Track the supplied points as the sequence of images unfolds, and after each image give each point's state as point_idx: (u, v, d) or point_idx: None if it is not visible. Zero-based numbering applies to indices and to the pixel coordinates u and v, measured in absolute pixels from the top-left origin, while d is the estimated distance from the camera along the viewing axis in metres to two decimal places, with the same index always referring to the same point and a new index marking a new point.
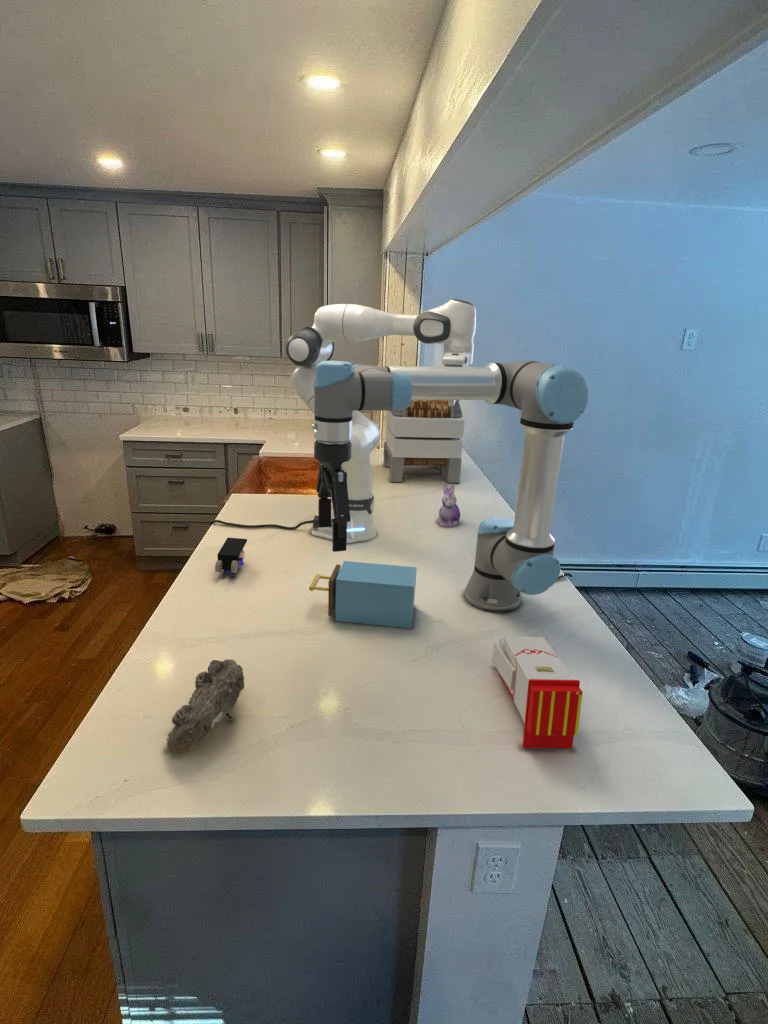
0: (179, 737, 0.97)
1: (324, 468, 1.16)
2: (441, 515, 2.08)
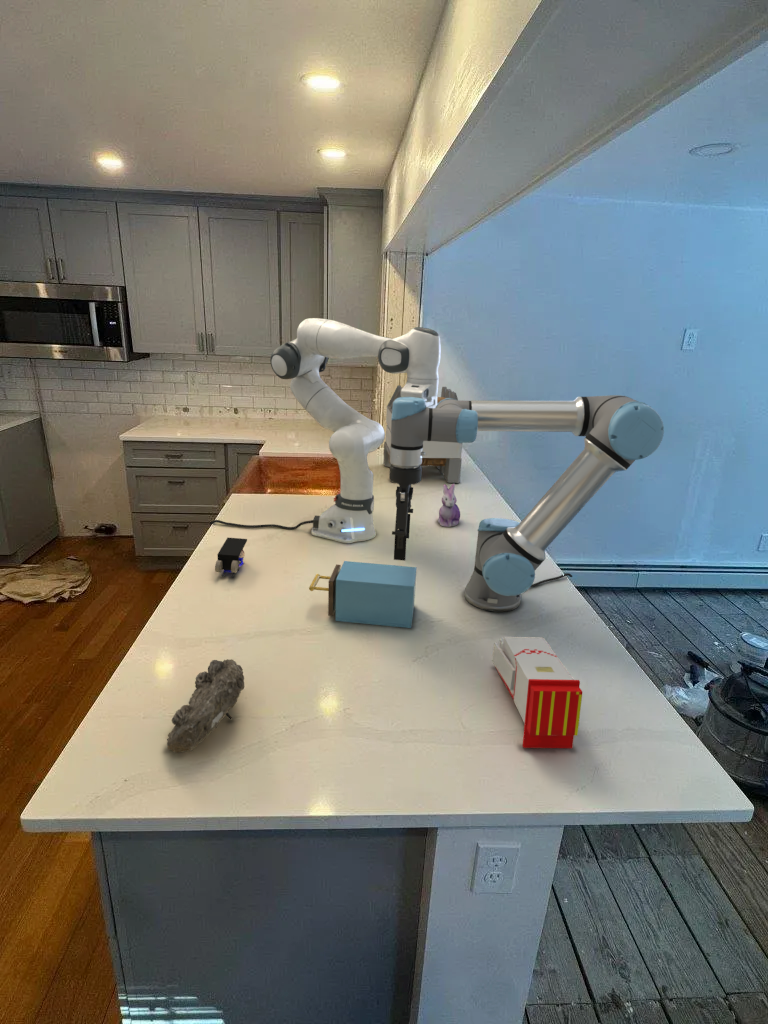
0: (179, 737, 0.97)
1: None
2: (441, 515, 2.08)
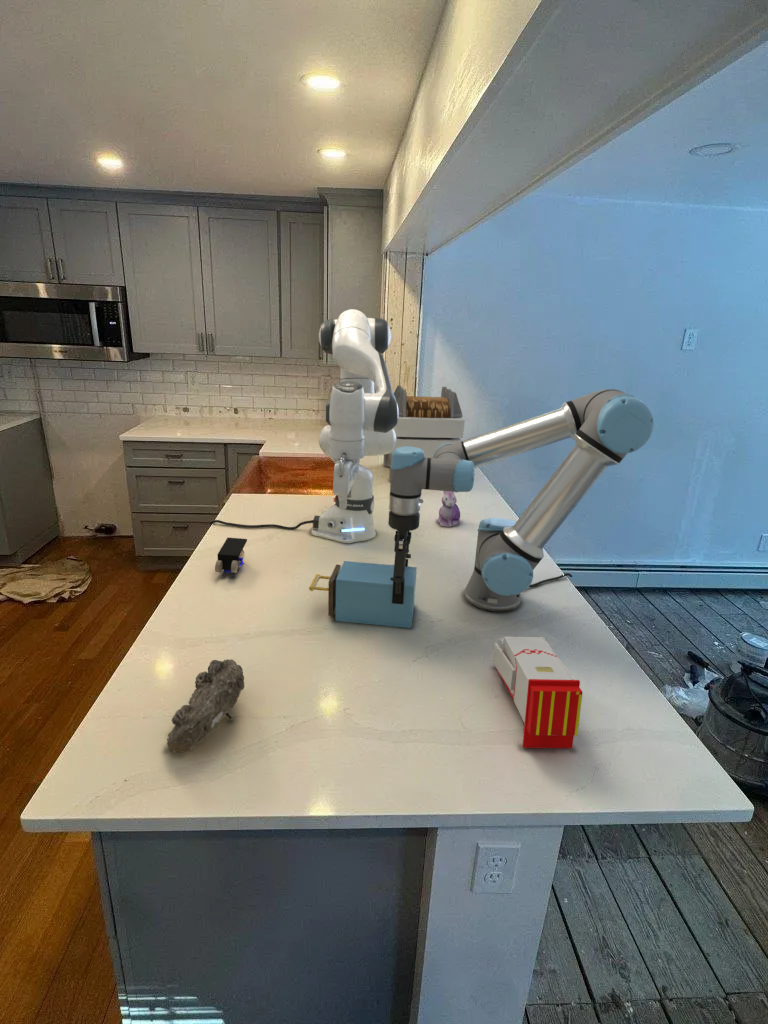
0: (179, 737, 0.97)
1: None
2: (441, 515, 2.08)
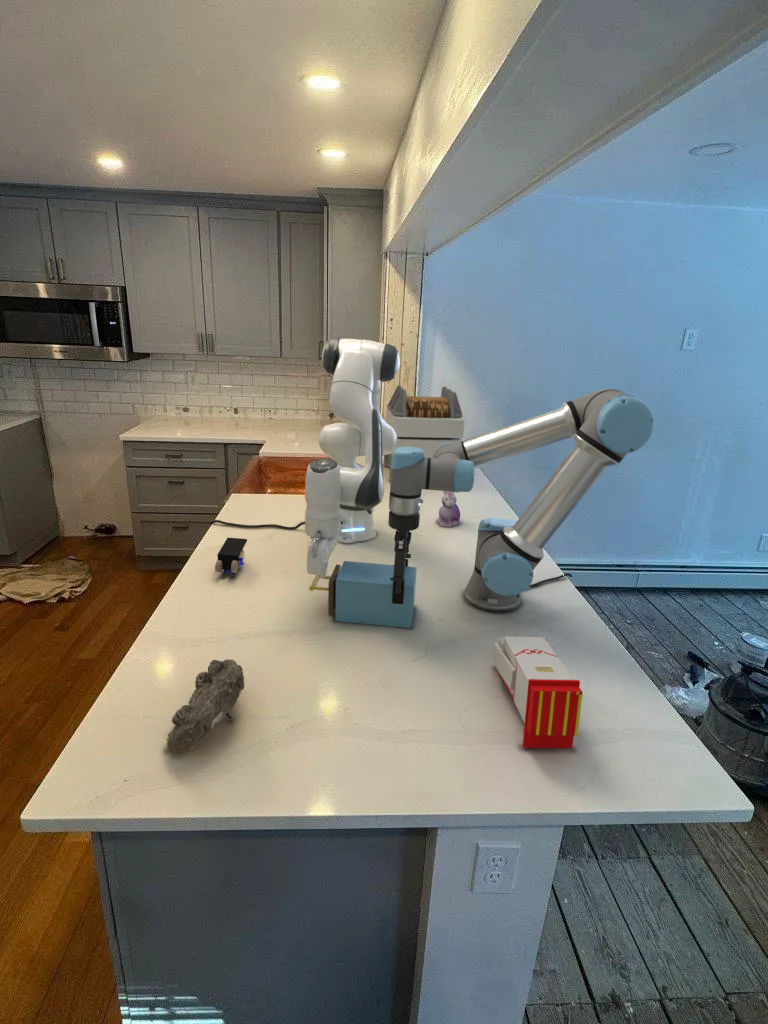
0: (179, 737, 0.97)
1: None
2: (441, 515, 2.08)
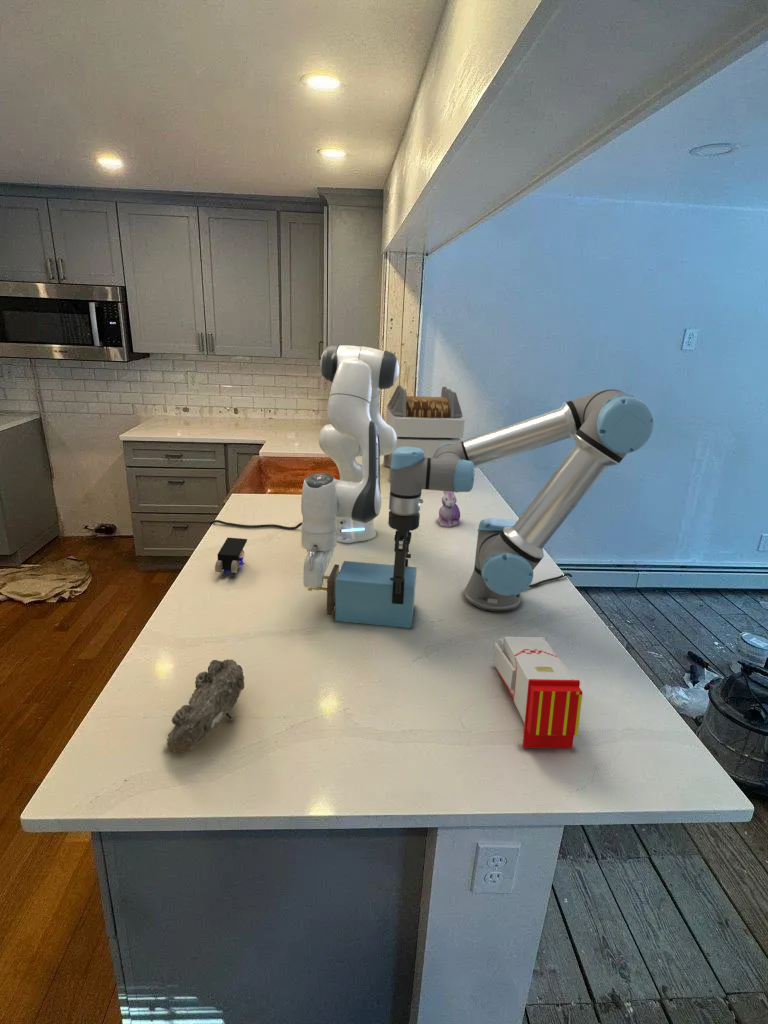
0: (179, 737, 0.97)
1: None
2: (441, 515, 2.08)
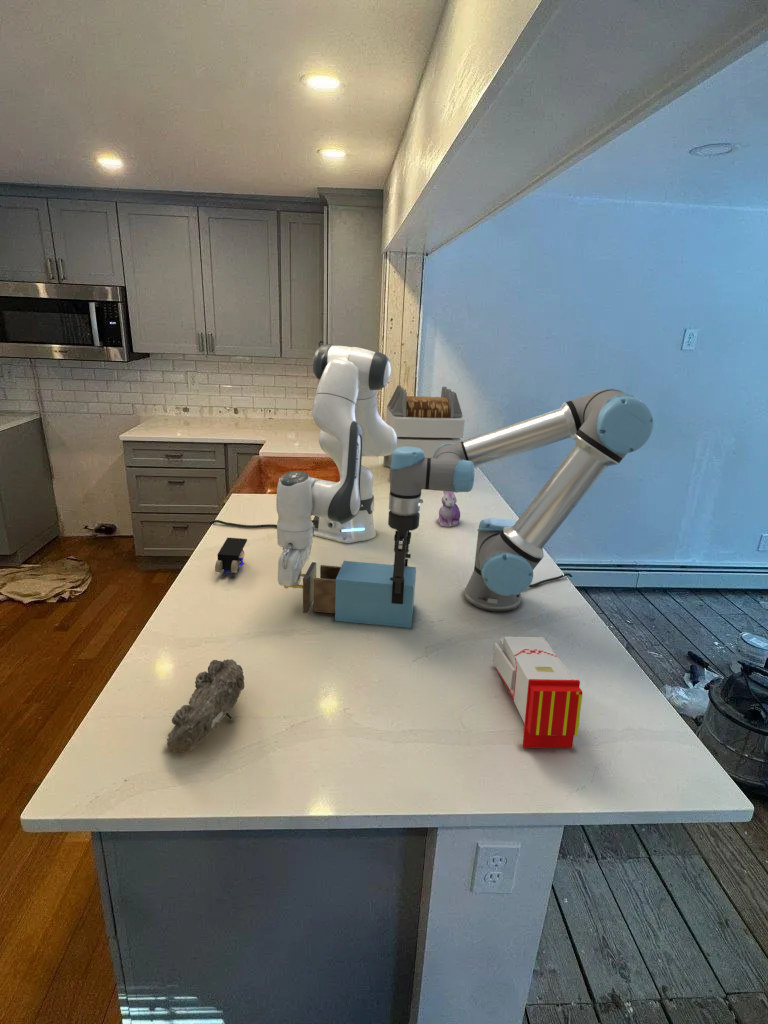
0: (179, 737, 0.97)
1: None
2: (441, 515, 2.08)
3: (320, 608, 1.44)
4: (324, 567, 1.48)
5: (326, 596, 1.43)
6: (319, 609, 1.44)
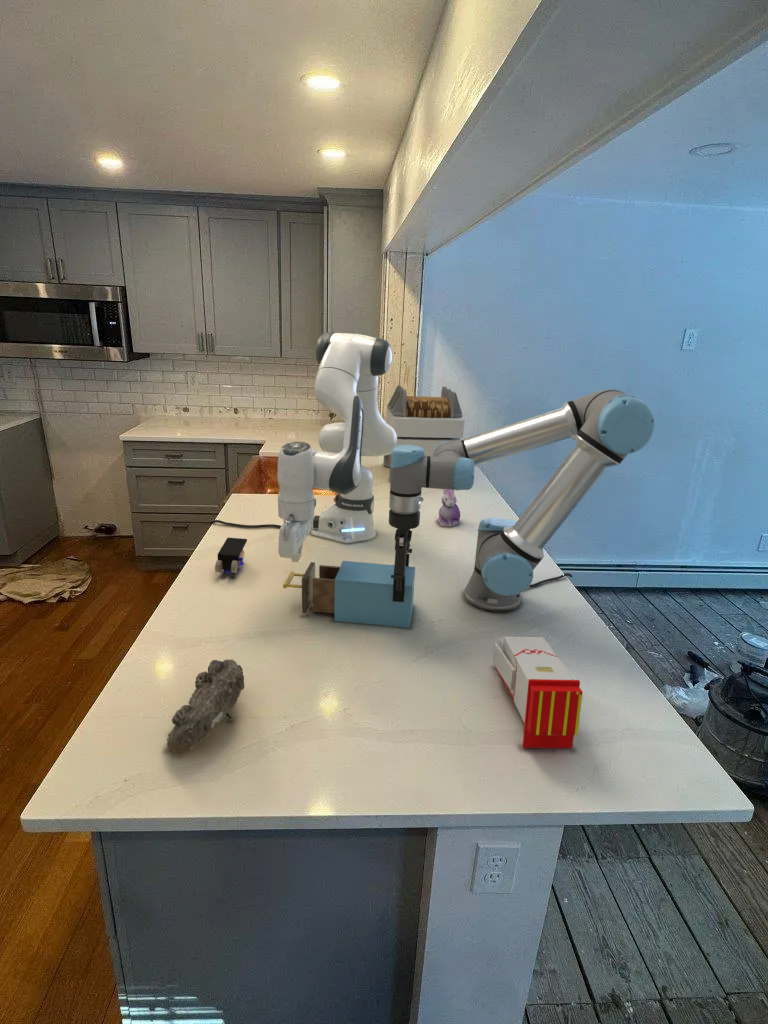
0: (179, 737, 0.97)
1: None
2: (441, 515, 2.08)
3: (319, 608, 1.44)
4: (323, 567, 1.48)
5: (325, 596, 1.43)
6: (318, 609, 1.44)
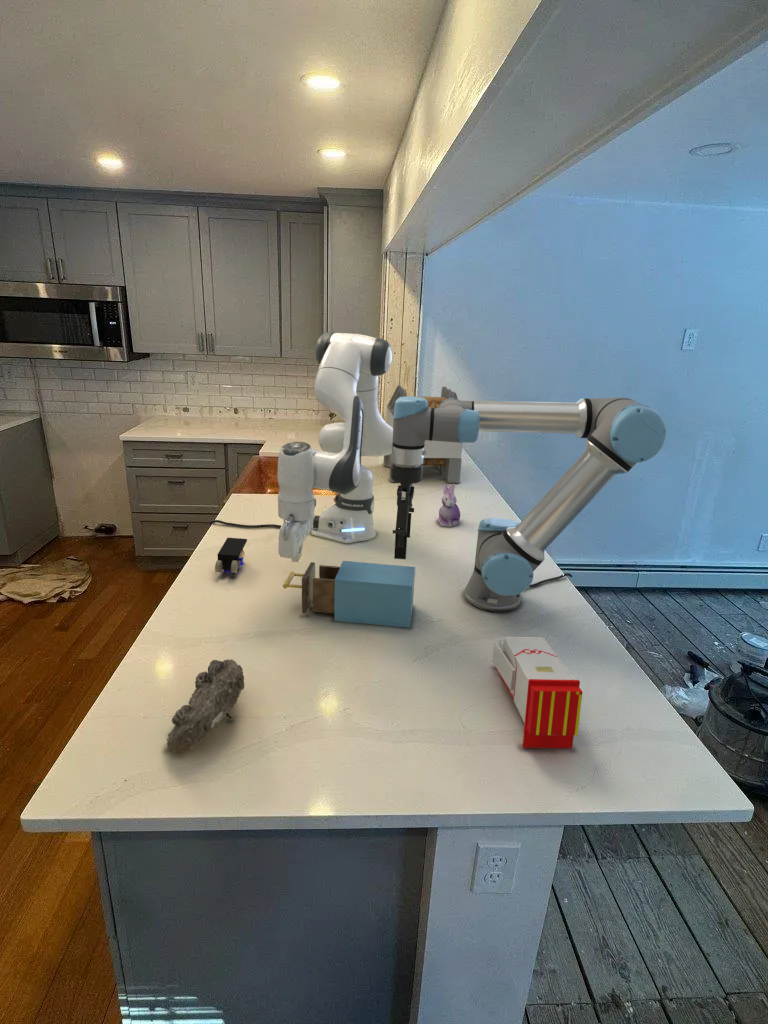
0: (179, 737, 0.97)
1: None
2: (441, 515, 2.08)
3: (319, 608, 1.44)
4: (323, 567, 1.48)
5: (325, 596, 1.43)
6: (318, 609, 1.44)
